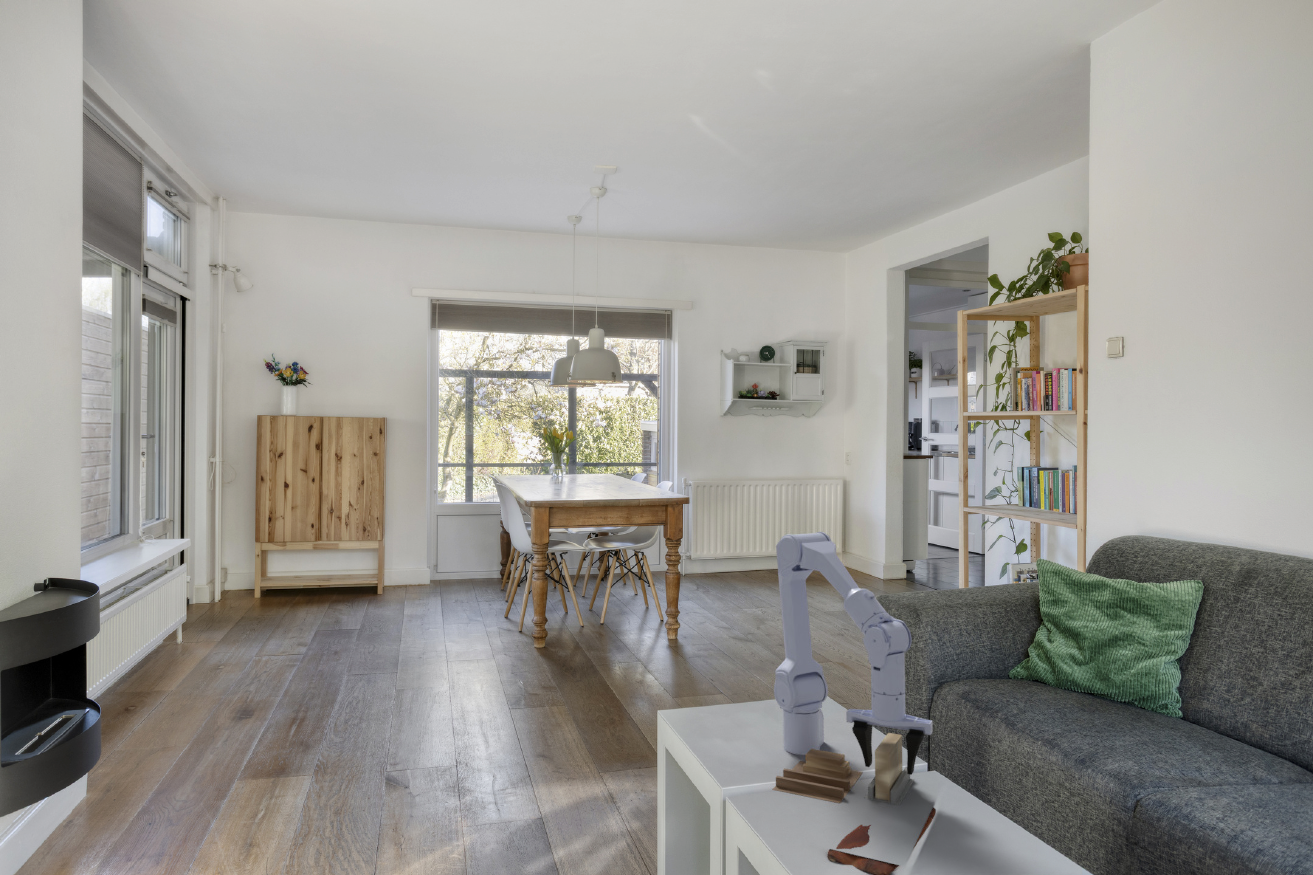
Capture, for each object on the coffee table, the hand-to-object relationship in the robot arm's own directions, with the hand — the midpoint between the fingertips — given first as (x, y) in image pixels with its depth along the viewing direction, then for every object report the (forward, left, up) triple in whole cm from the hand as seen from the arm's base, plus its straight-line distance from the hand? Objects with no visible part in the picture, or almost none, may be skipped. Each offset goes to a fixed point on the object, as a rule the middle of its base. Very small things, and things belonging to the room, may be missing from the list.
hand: (889, 768), depth 141 cm
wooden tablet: (+15, +3, -5) cm, 16 cm away
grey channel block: (0, 0, -4) cm, 4 cm away
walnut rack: (+2, -12, -4) cm, 13 cm away
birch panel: (0, 0, -3) cm, 3 cm away
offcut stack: (-2, -12, -3) cm, 13 cm away
